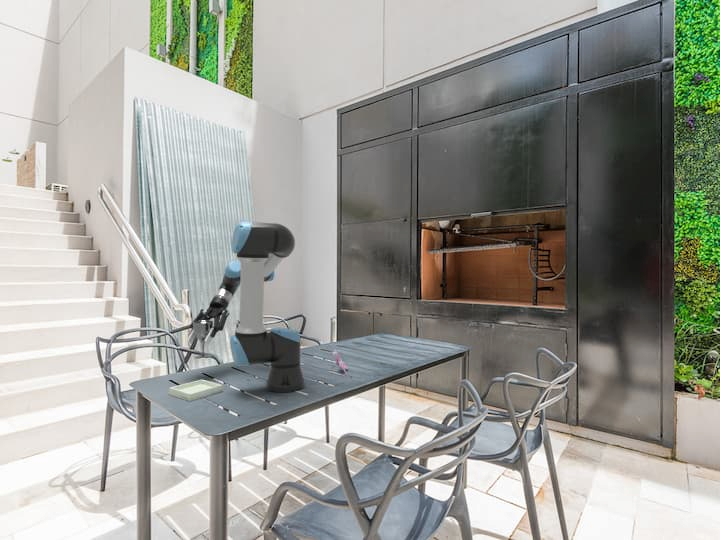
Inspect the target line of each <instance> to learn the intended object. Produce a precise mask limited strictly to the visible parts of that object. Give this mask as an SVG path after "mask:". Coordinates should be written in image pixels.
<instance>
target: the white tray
mask: <svg viewBox="0 0 720 540" xmlns="http://www.w3.org/2000/svg"><path fill="white" fill-rule="evenodd" d="M223 391H224V384H220V383H217V382H213V381H209V380H205V379H198V380H194V381H191V382H186V383H183V384H182V383H181V384H178V385H174V386H170V387H168V395H169V396H173V397H175V398H179V399H182V400H184V401H187V402H192V401H195V400H196V401H197V400H199V399H202V398H206V397H210V396H212V395H216V394H219V393H222V392H223Z"/></svg>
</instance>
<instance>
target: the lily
mask: <svg viewBox="0 0 720 540" xmlns="http://www.w3.org/2000/svg"><path fill="white" fill-rule="evenodd" d="M334 352H335V353H333V352H332V353H331V354H332V355H333V357H335V363H334V365H333V366H332V367H331V369H330V371H329V372H332V370H333V369H334V367H335V366H338V367H340V368H341V369H342V370H343V371H344V373H345V374H346V369H347V370H349V368H348V366H347V365H346V363H344V362H343V361H345V360H344V359H342V358H341V357H340V356H339V354H338V352H337V350H336V349H335V348H334Z"/></svg>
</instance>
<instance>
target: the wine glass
mask: <svg viewBox="0 0 720 540" xmlns="http://www.w3.org/2000/svg"><path fill="white" fill-rule="evenodd" d="M192 322H193V321H192ZM213 327H214V320H209V321H195V322H193V331H194V334H195V336H196V337H195V338H196V339H197V340H198V341H199V342H200V344H201V354H199V355H195V356H194V357H193V359H198V360H199V359H200V360H201V359H209V358H212V357H213V355H212V354H211V355H210V354H205V345H206V343H205V339H206V337H207V335H208V334H209V332H210V330H211V328H213ZM213 329H214V328H213Z"/></svg>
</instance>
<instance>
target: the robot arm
mask: <svg viewBox="0 0 720 540" xmlns="http://www.w3.org/2000/svg"><path fill="white" fill-rule="evenodd" d="M295 246H296V240H295V236H294V234H293V233H292V231H291V230H290V229H289V228H288V227H287V226H285V225H282V224H280V223H275V222H274V223H270V222H257V221H239V222H238V223H237V224H236V225H235V227H234V230H233V233H232V238H231V250H232V253H234V254H236V259H237V260H231V261H230V262H228V264H227V265H226V267H225V269H224V273H223V277H222V282H221V283H220V286H219V287H218V289H217V291H216V293H215V294H214V296H213V297H212V299H211V301H210V303H209V306H208V308H207V309H203V308H201V309H200V311H199V313H198V314H197V315H196V317H195V318H194V320H193V321H192V322H191V323H190V325H189V327H190V328H191V331H190V332H189V335H188V338H187V339H186V341H187V342H188V344H189V345H192V344H193V342H194V341H195V338H197V337H196V336H195V334H194V331H193V322H195V321H211V320H212V319H213V328H211V330H210V332H209V334H208V335H207V337H206V339H205V345H207V346H209V345H210V344H211V342H212V340H213V338H215V337H216V335H217V334H218V332H219V331H220V332H222V331H223V330H224V327H225V326H226V325H225V324H226V321H227V319H228V317H229V315H230V312H229V310H228V309H227V308H228V307H229V304H230V303H231V301H232V299H233V298H234V296H235V294H236V292H237V290H238V289H239V288H240V290H239V325H238V326H237V328H235V330H234V332H235V334H233V335H231V336H230V340H229V344H230V351H231V352H230V353H231V356H232V360H233V362H234V363H235V365H237V366H240V367H241V366H243V367H244V366H252V365H261V364H268V363H270V368H269V369H270V370H269V373H268V378H267V379H266V382H265V388H266V390H268V391H269V392H273V393H275V392H276V393H290V392H295V391H299V390H302V389H303V388H305V385H306V383H305V382H306V381H305V378H304V376H303V371H302V368H301V343H302V342H301V335H300V334H301V333H300V332H299V330H296V329H292V328H286V327H285V328H284V327H271V328H270V330H269V332H268V329H267V327H265V326H264V296H265V295H264V289H265V283H267V282H272V281H273V280H274V279H275V278H274V277H275V270H276V269H277V267H278V266H279V265H280V263H281V262H282V261H283V260H284V259H285V258H287V257H289V256H290V255H291V254H292V253H293V251H294V250H295Z"/></svg>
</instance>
